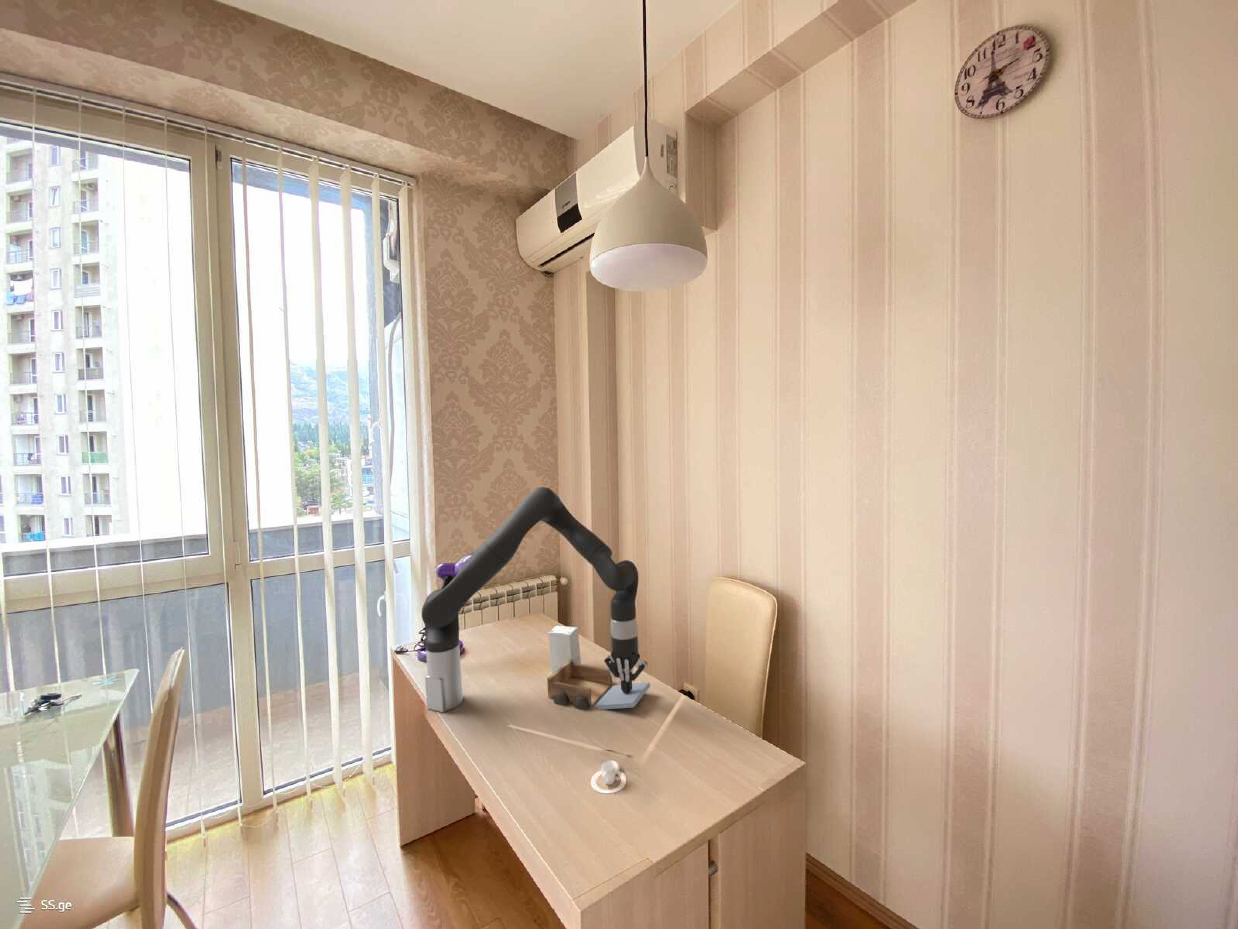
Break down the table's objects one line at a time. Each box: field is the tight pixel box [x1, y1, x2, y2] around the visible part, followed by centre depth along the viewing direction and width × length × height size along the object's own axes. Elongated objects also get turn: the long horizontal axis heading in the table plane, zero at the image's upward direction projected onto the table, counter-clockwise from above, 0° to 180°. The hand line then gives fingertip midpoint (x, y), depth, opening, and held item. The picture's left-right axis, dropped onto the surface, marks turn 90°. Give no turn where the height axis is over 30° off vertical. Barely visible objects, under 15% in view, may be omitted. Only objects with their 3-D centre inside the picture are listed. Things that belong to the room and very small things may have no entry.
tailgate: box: [594, 681, 651, 710], centre depth 144 cm, size 12×1×12 cm
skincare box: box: [547, 625, 582, 675], centre depth 163 cm, size 8×6×15 cm
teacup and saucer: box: [590, 760, 627, 795], centre depth 113 cm, size 9×8×4 cm
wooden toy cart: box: [546, 659, 613, 711], centre depth 150 cm, size 16×14×7 cm
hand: (627, 692), depth 144 cm, fingers closed
